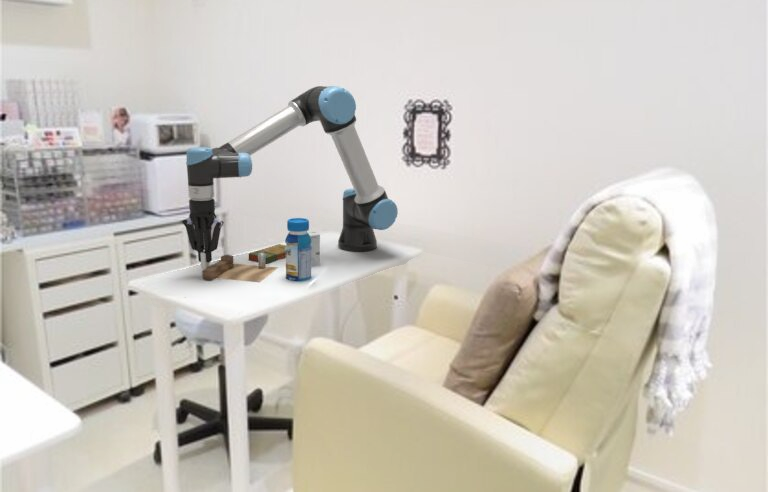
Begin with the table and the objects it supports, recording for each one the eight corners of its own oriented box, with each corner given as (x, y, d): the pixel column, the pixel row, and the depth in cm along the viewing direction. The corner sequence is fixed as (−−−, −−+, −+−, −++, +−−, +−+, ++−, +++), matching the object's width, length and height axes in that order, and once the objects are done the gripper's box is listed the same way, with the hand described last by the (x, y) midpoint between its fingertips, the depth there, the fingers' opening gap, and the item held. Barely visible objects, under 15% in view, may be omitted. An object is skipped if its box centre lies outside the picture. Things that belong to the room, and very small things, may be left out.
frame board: (278, 270, 198) (278, 267, 198) (259, 285, 183) (259, 282, 183) (228, 266, 202) (228, 263, 201) (206, 280, 186) (205, 277, 186)
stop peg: (266, 267, 198) (266, 252, 197) (264, 269, 196) (263, 254, 194) (260, 266, 198) (259, 252, 197) (257, 268, 196) (256, 254, 195)
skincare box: (304, 271, 199) (304, 236, 196) (298, 267, 202) (298, 233, 199) (320, 268, 202) (320, 234, 199) (314, 265, 206) (314, 231, 202)
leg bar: (224, 264, 198) (224, 252, 197) (235, 265, 198) (235, 253, 196) (201, 279, 183) (200, 266, 182) (213, 280, 182) (212, 267, 181)
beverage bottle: (311, 285, 185) (311, 223, 180) (284, 285, 184) (283, 222, 179) (312, 276, 193) (312, 217, 188) (286, 276, 192) (285, 216, 187)
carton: (296, 258, 214) (296, 247, 213) (265, 269, 201) (265, 257, 200) (279, 254, 219) (279, 243, 218) (248, 264, 205) (247, 252, 204)
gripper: (175, 199, 178) (180, 273, 185) (215, 201, 176) (219, 276, 182) (188, 195, 185) (193, 266, 192) (226, 197, 183) (230, 269, 189)
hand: (205, 271), depth 187 cm, fingers closed
